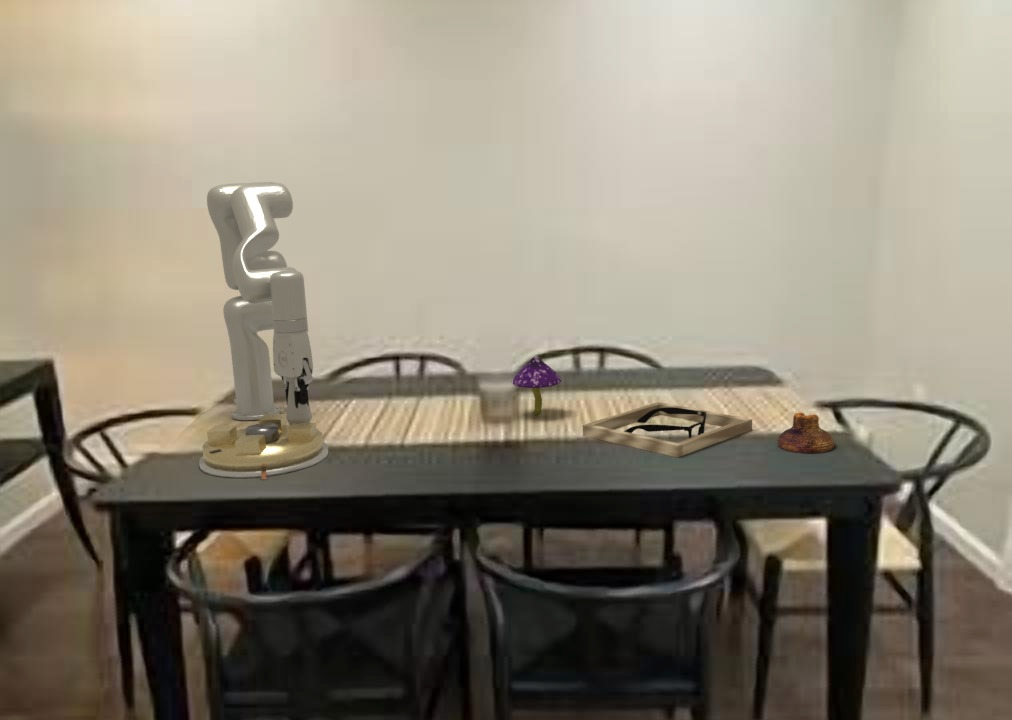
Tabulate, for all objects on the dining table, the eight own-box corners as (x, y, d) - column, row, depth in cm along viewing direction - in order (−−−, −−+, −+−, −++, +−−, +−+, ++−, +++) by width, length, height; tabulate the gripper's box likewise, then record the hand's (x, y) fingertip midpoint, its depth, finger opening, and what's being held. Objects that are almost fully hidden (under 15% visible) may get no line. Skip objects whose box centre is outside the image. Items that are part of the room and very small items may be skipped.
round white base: (177, 461, 226) (177, 456, 225) (287, 434, 244) (286, 429, 244) (238, 486, 205) (237, 481, 205) (352, 455, 224) (352, 450, 223)
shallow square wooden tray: (582, 435, 231) (582, 425, 231) (658, 411, 249) (657, 402, 248) (678, 457, 211) (677, 446, 211) (752, 429, 229) (752, 419, 229)
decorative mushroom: (502, 416, 252) (500, 357, 249) (540, 406, 260) (537, 349, 257) (535, 424, 242) (533, 363, 239) (573, 414, 250) (571, 355, 247)
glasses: (693, 451, 219) (694, 429, 218) (616, 441, 227) (616, 419, 226) (711, 431, 234) (712, 410, 233) (638, 422, 241) (639, 402, 240)
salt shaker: (306, 430, 226) (301, 373, 224) (283, 429, 228) (277, 373, 225) (316, 423, 232) (311, 368, 230) (293, 423, 233) (288, 368, 231)
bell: (766, 444, 219) (766, 411, 217) (812, 436, 223) (812, 404, 221) (799, 457, 208) (799, 423, 207) (846, 449, 212) (847, 416, 211)
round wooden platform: (186, 472, 212) (183, 445, 211) (225, 439, 238) (222, 414, 237) (308, 469, 211) (306, 441, 210) (334, 435, 237) (331, 410, 235)
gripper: (257, 325, 229) (265, 404, 232) (295, 332, 217) (302, 414, 221) (286, 321, 234) (293, 398, 237) (325, 327, 222) (331, 408, 225)
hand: (297, 405), depth 229 cm, fingers closed on salt shaker, 3 cm apart
